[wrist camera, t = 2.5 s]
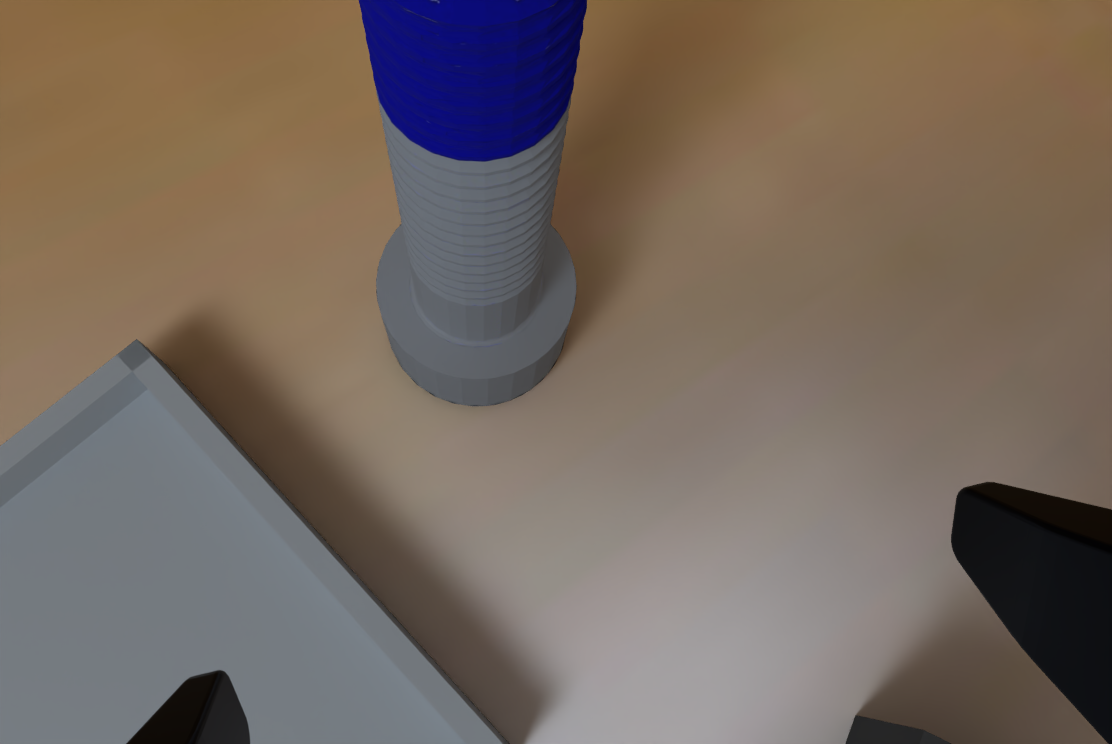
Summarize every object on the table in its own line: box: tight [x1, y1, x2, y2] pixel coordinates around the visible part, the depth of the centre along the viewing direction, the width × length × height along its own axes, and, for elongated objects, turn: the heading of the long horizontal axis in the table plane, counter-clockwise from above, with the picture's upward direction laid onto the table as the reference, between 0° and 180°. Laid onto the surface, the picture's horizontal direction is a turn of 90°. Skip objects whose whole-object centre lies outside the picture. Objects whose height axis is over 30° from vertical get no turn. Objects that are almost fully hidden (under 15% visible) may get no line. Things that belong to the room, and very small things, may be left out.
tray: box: [0, 339, 509, 744], centre depth 22 cm, size 14×12×2 cm
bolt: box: [359, 0, 587, 406], centre depth 19 cm, size 16×5×5 cm
